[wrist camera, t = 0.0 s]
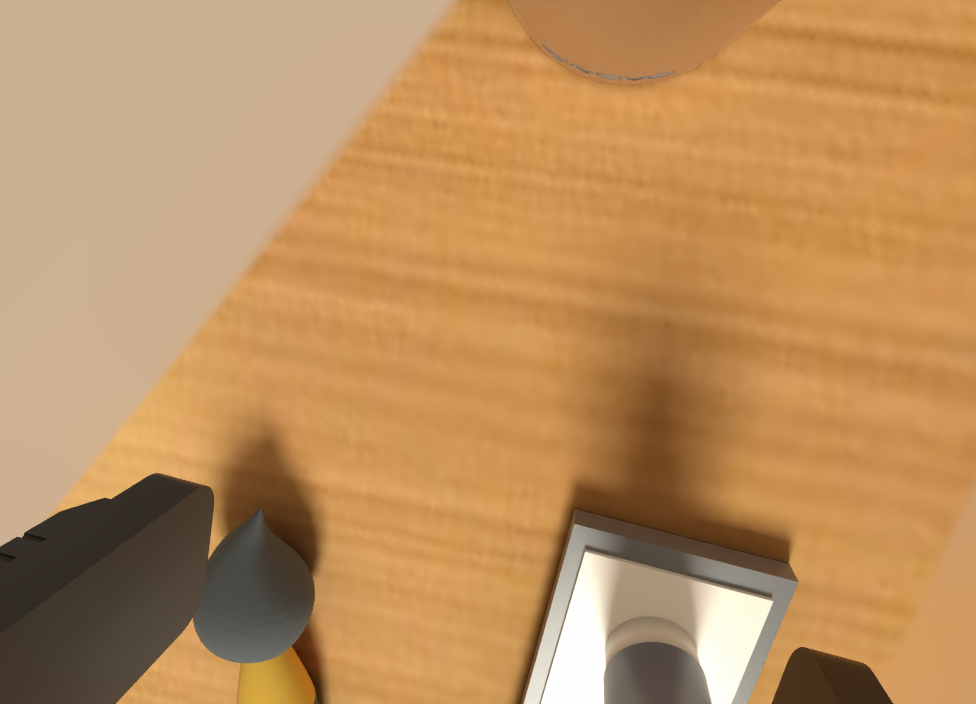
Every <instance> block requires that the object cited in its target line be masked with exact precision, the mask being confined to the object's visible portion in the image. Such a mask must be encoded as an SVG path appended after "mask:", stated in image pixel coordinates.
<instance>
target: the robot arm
mask: <svg viewBox="0 0 976 704" xmlns="http://www.w3.org/2000/svg"><path fill="white" fill-rule="evenodd" d="M508 1H509V3H510V5H511V7H512V9H513V11H514V13H515V15H516V17H517V18H518V20H519V22H520V23H521V25H522V26H523V28H524V29H525V31H526V32H527V34H528V35H529V37H530V38H531V40H532V41H533V42H534V43H535V44H536V45H537V46H538V47H539V48H540V49H541V50H542V51H543V52H544V53H545V54H547V55H548V56H549V57H550V58H551V59H552V60H553V61H554V62H556V63H558V64H559V65H561V66H563V67H564V68H566V69H568V70H569V71H571V72H573V73H574V74H576V75H579V76H582V77H585V78H588V79H591V80H594V81H597V82H600V83H605V84H616V85H628V86H633V85H641V84H648V83H655V82H661V81H664V80H667V79H669V78H672V77H675V76H678V75H680V74H683V73H686V72H689V71H690V70H692V69H694V68H695V67H697V66H698V65H700V64H702V63H703V62H705V61H707V60H708V59H710V58H712V57H713V56H715V55H716V54H717V53H719V52H720V51H721V50H722V49H723V48H724V47H726V46H727V45H728V44H729V43H730V42H732V41H733V40H734V39H735V38H736V37H737V36H739V35H740V34H742V33H743V32H744V31H745V30H747V29H748V28H749V27H750V26H751V25H753V24H754V23H755V22H756V21H758V20H759V19H760V18H761V17H762V16H763V15H765V14H766V13H767V12H768V11H769V10H771V9H772V8H773V7H774V6H775V5H776V4H778V3H779V2H780V1H781V0H508ZM213 510H214V494H213V491H212V489H211V488H210V487H208V486H205V485H201V484H197V483H193V482H190V481H186V480H182V479H178V478H175V477H171V476H167V475H163V474H160V473H155V474H152V475H150V476H148V477H146V478H144V479H143V480H141V481H140V482H138V483H136V484H135V485H133V486H132V487H130V488H128V489H127V490H125V491H124V492H122V493H120V494H119V495H117V496H115V497H114V498H112V499H108V498H102V499H99V500H96V501H93V502H89V503H86V504H83V505H80V506H77V507H73V508H70V509H67V510H64V511H61V512H59V513H57V514H55V515H54V516H52V517H50V518H49V519H47V520H45V521H43V522H42V523H40V524H38V525H37V526H35V527H33V528H31V529H30V530H28V531H26V532H25V534H24V536H23V537H22V538H20V537H16V538H14V539H13V540H11V541H9V542H7V543H6V544H4V545H2V546H1V547H0V704H116V703H117V702H118V701H119V699H120V698H121V697H122V696H123V695H124V694H125V693H126V692H127V691H128V690H129V689H130V688H131V687H132V686H133V684H134V683H135V682H136V681H137V680H138V679H139V678H140V677H141V676H142V675H143V674H144V673H145V672H146V671H147V669H148V668H149V667H150V666H151V665H152V664H153V663H154V662H155V661H156V660H157V659H158V658H159V657H160V656H161V655H162V653H163V652H164V651H165V650H166V649H167V648H168V647H169V646H170V645H171V644H172V643H173V642H174V641H175V640H176V638H177V637H178V636H179V635H180V634H181V633H182V632H183V631H184V630H185V628H186V627H187V625H188V624H189V622H190V621H191V619H192V617H193V616H194V614H195V612H196V610H197V607H198V605H199V603H200V600H201V597H202V594H203V590H204V586H205V579H206V570H207V562H208V553H209V545H210V536H211V527H212V519H213ZM772 704H893V703H892V702H891V700H890V698H889V697H888V695H887V693H886V692H885V690H884V689H883V687H882V686H881V684H880V683H879V681H878V679H877V678H876V676H875V675H874V673H873V672H872V670H871V669H870V668H869V667H868V666H867V665H866V664H864V663H861V662H858V661H854V660H850V659H846V658H843V657H839V656H835V655H831V654H828V653H824V652H820V651H816V650H813V649H809V648H805V647H800V648H798V649H796V650H795V651H794V652H793V653H792V655H791V656H790V658H789V660H788V663H787V665H786V668H785V670H784V673H783V676H782V678H781V681H780V683H779V686H778V689H777V691H776V694H775V697H774V699H773V702H772Z"/></svg>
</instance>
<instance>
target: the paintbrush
mask: <svg viewBox="0 0 976 704" xmlns="http://www.w3.org/2000/svg"><path fill="white" fill-rule="evenodd" d="M314 597H315V588H314V581H313V578H312V574H311V572H310V570H309V568H308V566H307V564H306V563H305V562H304V560H303V559H302V558H301V556H300V555H299V554H298V553H297V552H296V551H295V550H294V549H293V548H291V547H290V546H289V545H288V544H287V543H285V542H284V541H283V540H282V539H280V538H279V537H278V536H277V535H275V534H274V533H273V532H272V531H271V530H270V529H269V527H268V526H267V523H266V521H265V516H264V512H263V509H262V508H260V509H259V510H258V511H257V512H256V513H255V514H254V515H253V516H251V517H250V518H248V519H247V520H246V521H244V522H243V523H241V524H240V525H239V526H237V527H236V528H235V529H234V530H233V531H231V532H230V533H229V534H228V535H227V536H226V537H225V538H224V539H223V540H222V541H221V543H220V544H219V545H218V546H217V548H216V549H215V550H214V552H213V553H212V555H211V556H210V558H209V560H208V562H207V570H206V579H205V586H204V590H203V594H202V597H201V600H200V603H199V605H198V607H197V610H196V612H195V614H194V616H193V622H194V626H195V630H196V632H197V635H198V636H199V638H200V640H201V642H202V643H203V644H204V645H205V647H206V648H207V649H208V650H209V651H211V652H212V653H214V654H215V655H216V656H218V657H220V658H223V659H225V660H228V661H231V662H237V663H241V666H240V673H239V682H238V691H237V704H318V700H317V695H316V691H315V688H314V685H313V683H312V680H311V678H310V677H309V675H308V673H307V671H306V669H305V667H304V665H303V664H302V662H301V660H300V659H299V657H298V655H297V654H296V652H295V651H294V649H293V647H292V645H293V644H294V643H295V642H296V640H297V639H298V638H299V637H300V635H301V634H302V632H303V631H304V629H305V627H306V625H307V623H308V621H309V619H310V616H311V613H312V610H313V605H314Z"/></svg>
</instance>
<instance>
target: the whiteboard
mask: <svg viewBox="0 0 976 704" xmlns="http://www.w3.org/2000/svg"><path fill="white" fill-rule="evenodd" d="M797 584H798V580H797V578H796V576H795V574H794V572H793V570H792V568H791V566H790V564H787V563H783V562H780V561H776V560H772V559H768V558H764V557H760V556H756V555H752V554H749V553H745V552H741V551H737V550H733V549H729V548H725V547H721V546H718V545H714V544H710V543H706V542H702V541H698V540H694V539H690V538H687V537H683V536H679V535H675V534H671V533H667V532H663V531H659V530H656V529H652V528H648V527H644V526H640V525H636V524H632V523H628V522H625V521H621V520H617V519H613V518H609V517H605V516H601V515H597V514H594V513H590V512H586V511H582V510H578V509H575V510H574V514H573V517H572V521H571V524H570V528H569V531H568V535H567V539H566V542H565V546H564V549H563V553H562V557H561V560H560V564H559V567H558V571H557V575H556V578H555V582H554V585H553V589H552V592H551V596H550V600H549V603H548V607H547V610H546V614H545V618H544V621H543V625H542V628H541V632H540V635H539V639H538V643H537V646H536V650H535V653H534V657H533V661H532V664H531V668H530V671H529V675H528V678H527V682H526V686H525V689H524V693H523V696H522V700H521V704H604V689H603V677H604V672H605V646H606V642H607V639H608V637H609V636H610V634H611V633H612V631H613V630H614V629H615V628H616V627H618V626H619V625H620V624H622V623H624V622H626V621H628V620H630V619H633V618H637V617H645V616H652V617H659V618H664V619H667V620H670V621H672V622H674V623H676V624H678V625H679V626H681V627H682V628H683V629H685V630H686V631H687V632H688V633H689V635H690V636H691V637H692V639H693V641H694V642H695V645H696V648H697V652H698V657H699V661H700V666H701V667H702V669H703V671H704V674H705V676H706V680H707V685H708V689H709V694H710V698H711V702H712V704H747V703H748V701H749V698H750V696H751V694H752V691H753V689H754V686H755V684H756V682H757V679H758V677H759V675H760V672H761V670H762V667H763V665H764V663H765V660H766V658H767V655H768V653H769V651H770V648H771V646H772V644H773V641H774V639H775V636H776V634H777V632H778V629H779V627H780V625H781V622H782V620H783V617H784V615H785V613H786V610H787V608H788V606H789V603H790V601H791V598H792V596H793V594H794V591H795V589H796V587H797Z"/></svg>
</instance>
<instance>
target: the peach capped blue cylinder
mask: <svg viewBox="0 0 976 704" xmlns="http://www.w3.org/2000/svg"><path fill="white" fill-rule="evenodd" d="M603 689H604V704H712V702H711V698H710V694H709V689H708V685H707V680H706V676H705V674H704V671H703V669H702V667H701V666H700V661H699V657H698V652H697V648H696V645H695V642H694V641H693V639H692V637H691V636H690V635H689V633H688V632H687V631H686V630H685V629H683V628H682V627H681V626H679V625H678V624H676V623H674V622H672V621H670V620H667V619H664V618H659V617H652V616H645V617H637V618H633V619H630V620H628V621H626V622H624V623H622V624H620V625H619V626H618V627H616V628H615V629H614V630H613V631H612V633H611V634H610V636H609V637H608V639H607V642H606V646H605V672H604V677H603Z"/></svg>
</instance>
